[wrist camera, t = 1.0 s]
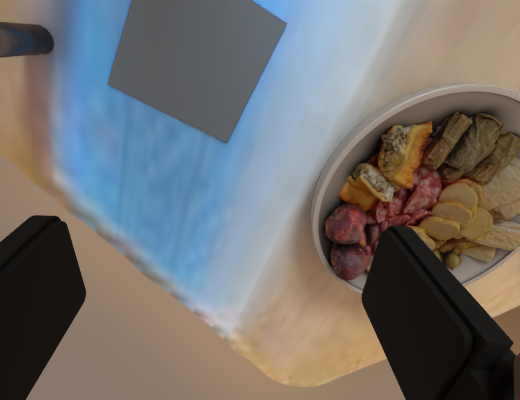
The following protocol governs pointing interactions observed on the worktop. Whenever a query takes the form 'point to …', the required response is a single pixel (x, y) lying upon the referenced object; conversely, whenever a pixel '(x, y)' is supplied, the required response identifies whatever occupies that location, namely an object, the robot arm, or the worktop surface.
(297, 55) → the worktop surface
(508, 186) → the bowl
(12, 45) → the post
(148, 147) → the worktop surface
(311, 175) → the worktop surface
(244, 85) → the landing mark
